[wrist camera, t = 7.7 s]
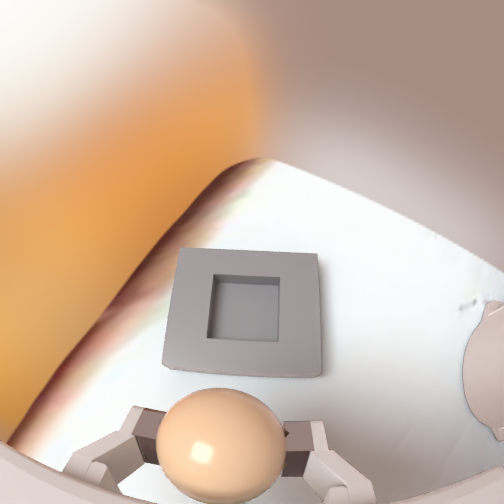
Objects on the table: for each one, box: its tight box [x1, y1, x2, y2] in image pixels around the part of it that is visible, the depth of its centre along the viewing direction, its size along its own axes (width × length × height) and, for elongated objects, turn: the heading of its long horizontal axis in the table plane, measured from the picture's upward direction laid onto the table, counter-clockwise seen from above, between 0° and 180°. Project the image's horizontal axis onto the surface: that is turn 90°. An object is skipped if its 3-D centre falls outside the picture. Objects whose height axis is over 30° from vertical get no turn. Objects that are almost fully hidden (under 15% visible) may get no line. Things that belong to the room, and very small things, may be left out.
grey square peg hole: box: [162, 247, 321, 377], centre depth 29 cm, size 14×12×3 cm
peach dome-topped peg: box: [156, 388, 287, 504], centre depth 10 cm, size 4×4×8 cm
